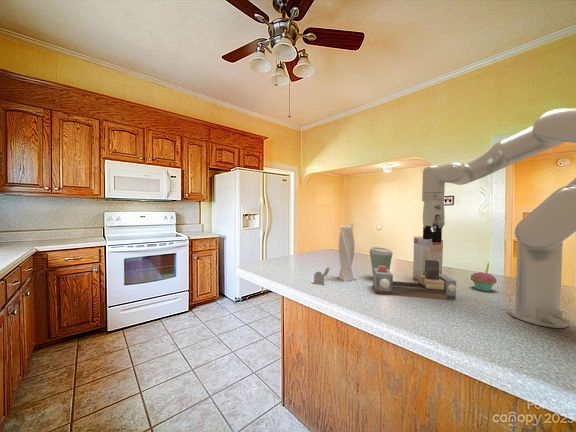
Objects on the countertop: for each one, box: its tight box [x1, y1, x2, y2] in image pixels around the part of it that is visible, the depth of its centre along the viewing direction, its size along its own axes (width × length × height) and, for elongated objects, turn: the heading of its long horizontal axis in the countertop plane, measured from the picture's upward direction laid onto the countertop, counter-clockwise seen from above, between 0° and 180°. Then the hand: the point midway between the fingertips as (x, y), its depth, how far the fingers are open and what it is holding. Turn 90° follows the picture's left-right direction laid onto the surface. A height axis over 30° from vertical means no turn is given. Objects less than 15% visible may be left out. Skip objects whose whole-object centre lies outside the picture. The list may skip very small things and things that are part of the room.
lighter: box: [313, 266, 331, 286], centre depth 107 cm, size 7×2×8 cm, turn 67°
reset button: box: [378, 265, 387, 272], centre depth 99 cm, size 3×3×4 cm
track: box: [372, 280, 457, 301], centre depth 96 cm, size 10×28×3 cm, turn 78°
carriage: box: [419, 260, 444, 290], centre depth 95 cm, size 8×6×10 cm
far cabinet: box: [372, 268, 394, 296], centre depth 98 cm, size 11×6×8 cm, turn 168°
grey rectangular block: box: [439, 273, 457, 301], centre depth 93 cm, size 11×3×7 cm, turn 168°
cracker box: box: [412, 235, 444, 283], centre depth 109 cm, size 14×6×21 cm, turn 179°
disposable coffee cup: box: [368, 246, 393, 272], centre depth 115 cm, size 11×11×15 cm
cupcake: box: [470, 261, 497, 292], centre depth 100 cm, size 9×8×12 cm
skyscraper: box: [336, 222, 358, 282], centre depth 114 cm, size 8×8×28 cm
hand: (431, 240), depth 95 cm, fingers open, 9 cm apart
